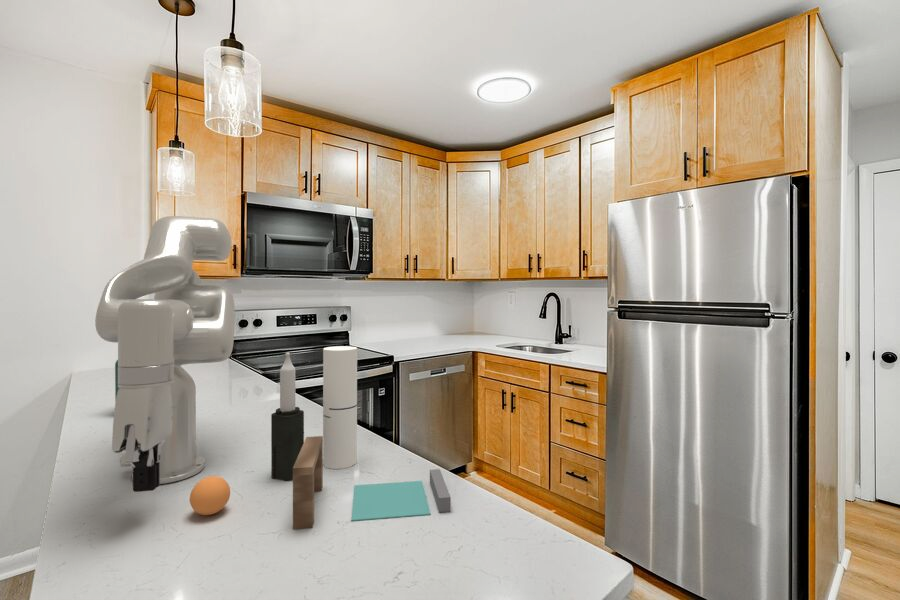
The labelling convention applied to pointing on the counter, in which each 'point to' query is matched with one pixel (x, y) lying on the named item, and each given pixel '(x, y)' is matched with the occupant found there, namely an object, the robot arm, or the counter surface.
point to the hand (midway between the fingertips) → (146, 488)
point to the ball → (209, 495)
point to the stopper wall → (440, 491)
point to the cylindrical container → (339, 406)
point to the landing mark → (389, 500)
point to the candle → (286, 426)
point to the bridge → (307, 481)
